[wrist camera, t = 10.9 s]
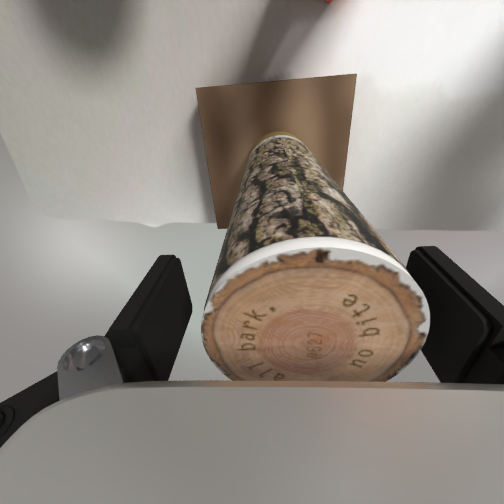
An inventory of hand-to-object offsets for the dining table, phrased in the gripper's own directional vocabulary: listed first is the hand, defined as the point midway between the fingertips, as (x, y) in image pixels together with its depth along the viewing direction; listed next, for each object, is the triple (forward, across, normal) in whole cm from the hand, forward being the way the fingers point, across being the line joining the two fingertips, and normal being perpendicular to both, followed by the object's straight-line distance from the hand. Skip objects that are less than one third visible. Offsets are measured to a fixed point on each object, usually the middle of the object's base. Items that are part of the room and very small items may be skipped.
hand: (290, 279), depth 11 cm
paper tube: (+22, 0, 0) cm, 22 cm away
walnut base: (+26, 0, 0) cm, 26 cm away
